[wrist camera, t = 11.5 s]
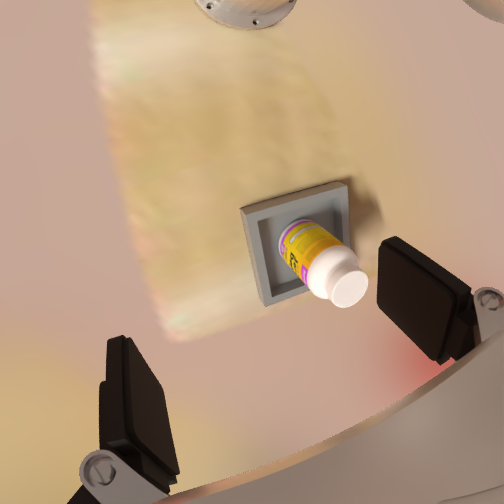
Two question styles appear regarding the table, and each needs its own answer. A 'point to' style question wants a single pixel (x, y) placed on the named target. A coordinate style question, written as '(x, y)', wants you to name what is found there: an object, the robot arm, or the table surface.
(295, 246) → the supplement bottle
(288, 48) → the table surface
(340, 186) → the tray
